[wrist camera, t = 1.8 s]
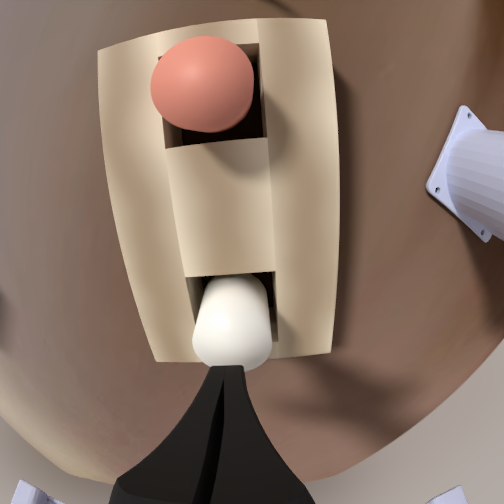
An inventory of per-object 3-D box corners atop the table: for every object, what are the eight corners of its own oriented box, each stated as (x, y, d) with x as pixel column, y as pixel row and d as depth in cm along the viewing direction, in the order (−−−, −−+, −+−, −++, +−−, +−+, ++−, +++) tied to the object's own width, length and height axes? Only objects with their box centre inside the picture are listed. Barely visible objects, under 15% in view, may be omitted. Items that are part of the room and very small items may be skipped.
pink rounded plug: (249, 60, 13) (249, 30, 8) (255, 129, 14) (257, 124, 10) (175, 69, 13) (148, 46, 8) (180, 137, 14) (154, 137, 10)
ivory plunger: (265, 267, 17) (270, 310, 13) (268, 322, 19) (273, 370, 14) (199, 272, 17) (185, 315, 13) (209, 325, 19) (200, 373, 15)
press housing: (310, 42, 14) (325, 19, 10) (318, 318, 22) (330, 352, 18) (125, 64, 14) (98, 50, 11) (168, 328, 22) (156, 361, 18)
